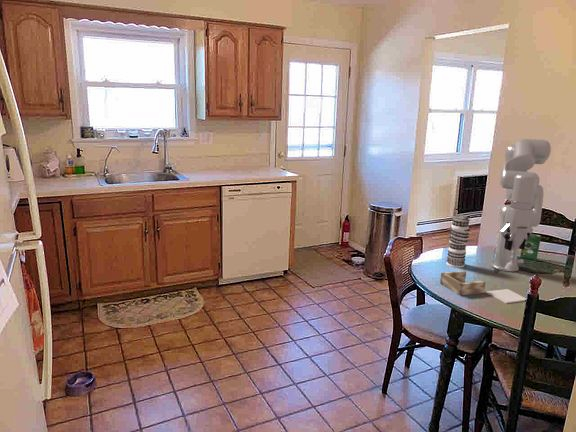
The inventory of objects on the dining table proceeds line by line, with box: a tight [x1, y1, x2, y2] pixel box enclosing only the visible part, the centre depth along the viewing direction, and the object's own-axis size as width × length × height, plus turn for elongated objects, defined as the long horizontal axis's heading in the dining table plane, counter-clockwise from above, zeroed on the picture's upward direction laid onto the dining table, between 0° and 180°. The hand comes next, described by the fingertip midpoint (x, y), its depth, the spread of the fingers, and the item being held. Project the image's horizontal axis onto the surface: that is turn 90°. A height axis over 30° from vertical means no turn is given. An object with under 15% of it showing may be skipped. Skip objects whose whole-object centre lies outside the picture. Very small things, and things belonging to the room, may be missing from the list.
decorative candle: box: [446, 214, 471, 269], centre depth 221 cm, size 9×9×25 cm
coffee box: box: [519, 233, 542, 261], centre depth 236 cm, size 8×3×13 cm, turn 58°
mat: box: [486, 288, 527, 304], centre depth 187 cm, size 11×11×1 cm
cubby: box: [439, 270, 487, 296], centre depth 194 cm, size 12×13×5 cm
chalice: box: [505, 227, 528, 272], centre depth 182 cm, size 7×7×18 cm
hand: (514, 248), depth 182 cm, fingers closed on chalice, 5 cm apart
